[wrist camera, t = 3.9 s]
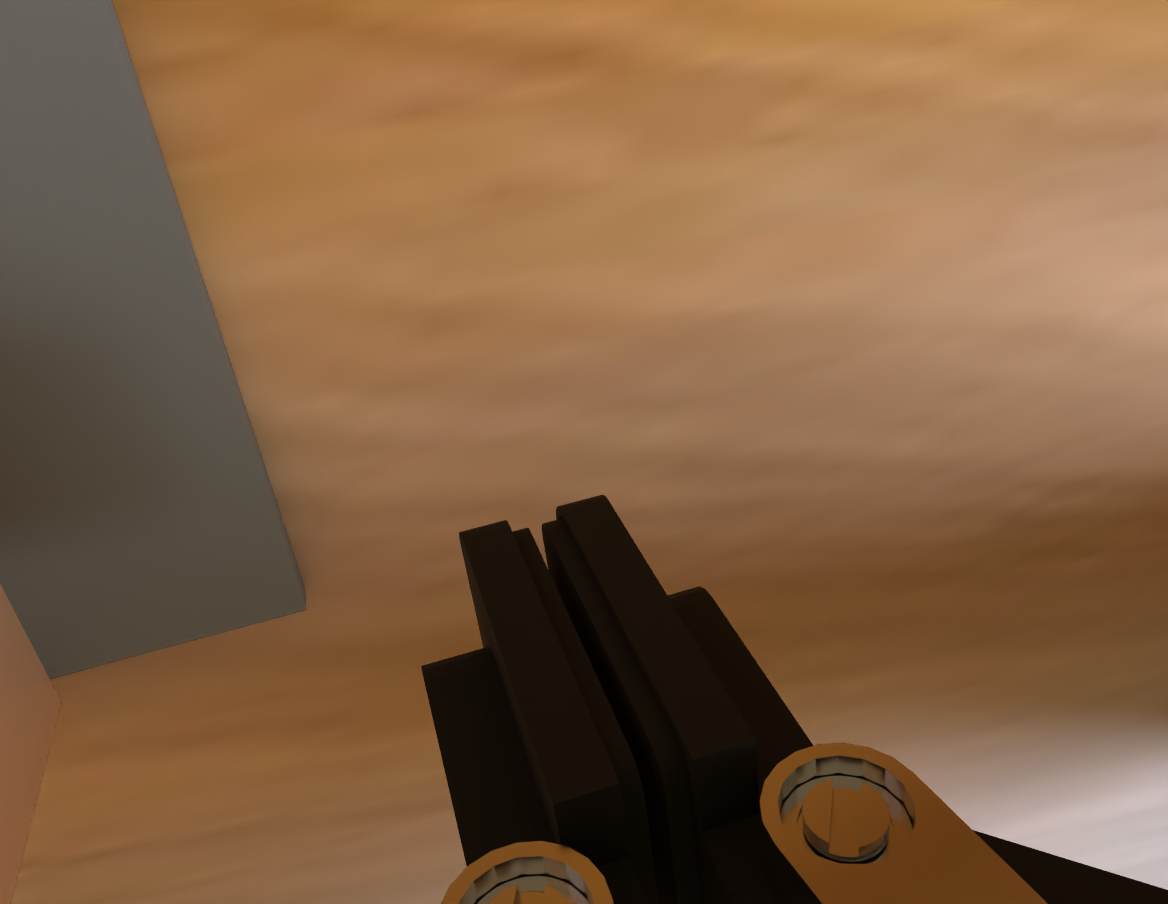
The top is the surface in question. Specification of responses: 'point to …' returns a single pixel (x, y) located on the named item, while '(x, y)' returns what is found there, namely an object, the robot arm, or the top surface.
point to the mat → (114, 373)
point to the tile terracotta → (20, 740)
